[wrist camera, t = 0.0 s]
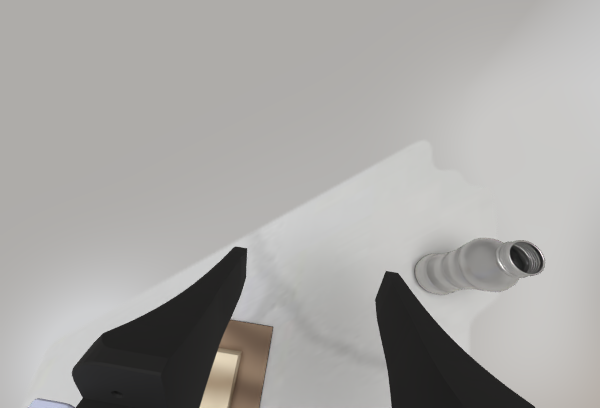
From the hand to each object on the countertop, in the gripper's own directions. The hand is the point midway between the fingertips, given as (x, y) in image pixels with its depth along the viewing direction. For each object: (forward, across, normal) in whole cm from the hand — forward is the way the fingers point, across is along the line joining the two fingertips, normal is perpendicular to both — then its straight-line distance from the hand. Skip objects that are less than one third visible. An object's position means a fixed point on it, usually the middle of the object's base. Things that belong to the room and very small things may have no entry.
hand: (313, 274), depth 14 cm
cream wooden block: (+10, +10, +33) cm, 36 cm away
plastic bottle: (+26, -22, +20) cm, 40 cm away
